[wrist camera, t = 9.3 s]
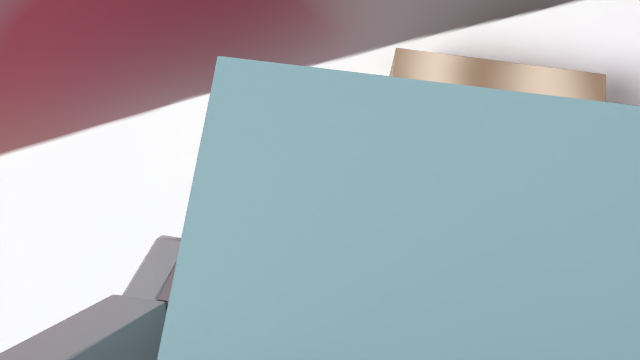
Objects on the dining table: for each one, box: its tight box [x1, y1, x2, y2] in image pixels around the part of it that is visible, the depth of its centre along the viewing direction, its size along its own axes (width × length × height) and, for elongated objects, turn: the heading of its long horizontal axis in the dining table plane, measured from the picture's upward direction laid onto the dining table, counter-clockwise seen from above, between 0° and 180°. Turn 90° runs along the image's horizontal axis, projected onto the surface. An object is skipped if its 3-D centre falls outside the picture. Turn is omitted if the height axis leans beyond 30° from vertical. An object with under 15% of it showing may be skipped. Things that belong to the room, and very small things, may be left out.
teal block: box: [157, 56, 640, 360], centre depth 11 cm, size 5×5×11 cm
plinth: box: [390, 48, 606, 102], centre depth 34 cm, size 12×12×4 cm
